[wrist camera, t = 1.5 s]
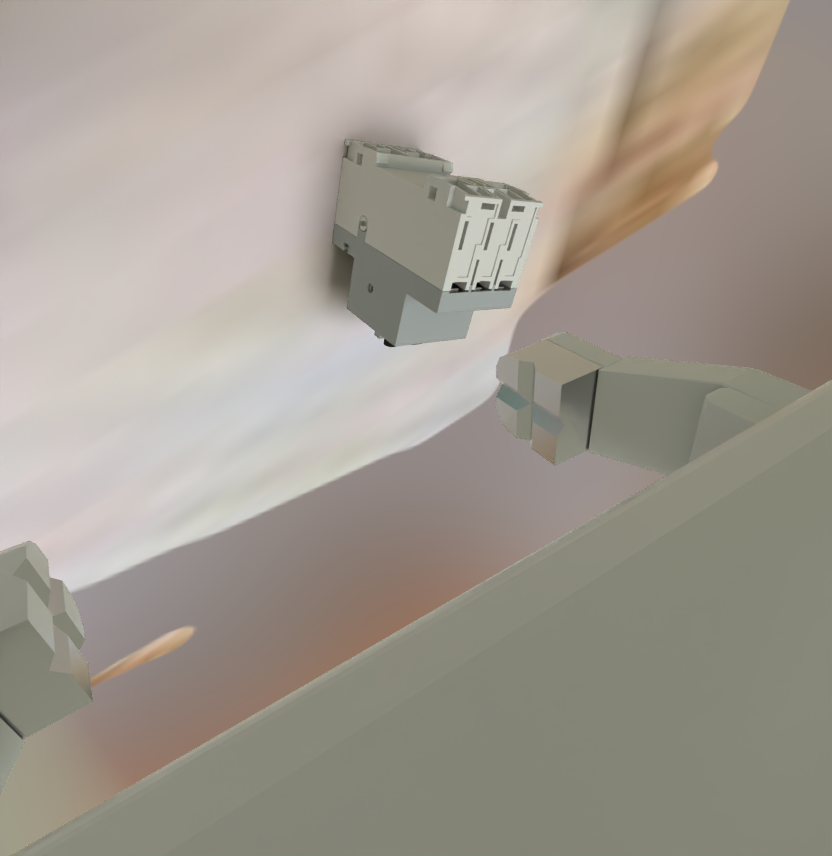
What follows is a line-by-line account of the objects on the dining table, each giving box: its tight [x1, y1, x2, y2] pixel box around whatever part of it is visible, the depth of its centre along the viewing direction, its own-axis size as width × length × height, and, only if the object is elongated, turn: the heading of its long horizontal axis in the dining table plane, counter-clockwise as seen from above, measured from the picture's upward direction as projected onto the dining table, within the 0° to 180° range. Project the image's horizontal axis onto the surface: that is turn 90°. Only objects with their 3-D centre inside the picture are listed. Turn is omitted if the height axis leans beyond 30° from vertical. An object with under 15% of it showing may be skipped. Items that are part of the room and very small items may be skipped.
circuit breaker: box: [332, 139, 544, 347], centre depth 45 cm, size 8×14×15 cm, turn 165°
